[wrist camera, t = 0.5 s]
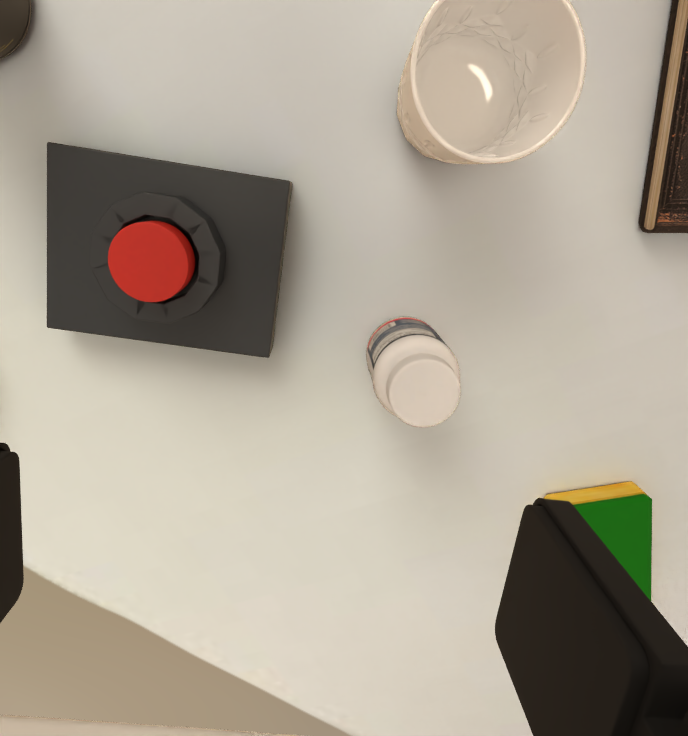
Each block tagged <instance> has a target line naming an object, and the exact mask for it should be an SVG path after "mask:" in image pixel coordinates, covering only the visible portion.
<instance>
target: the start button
mask: <svg viewBox="0 0 688 736" xmlns="http://www.w3.org/2000/svg"><path fill="white" fill-rule="evenodd" d="M108 265H109V269H110V273H111V275H112V277H113V279H114V281H115V282H116V284H117V285H118V286H119V287H120V288H121V289H122V290H123V291H124V292H125V293H126V294H128V295H129V296H131V297H133V298H135V299H137V300H140V301H144V302H160V301H164V300H167V299H169V298H171V297H172V296H174V295H175V294H177V293H178V292H180V291H181V290H183V289H184V288H185V287H186V286H187V285H188V283H189V282H190V280H191V278H192V276H193V273H194V269H195V255H194V251H193V248H192V246H191V244H190V242H189V240H188V239H187V238H186V236H185V235H184V234H183V233H182V232H181V231H180V230H179V229H177V228H176V227H174V226H172V225H170V224H168V223H165V222H161V221H144V222H138V223H133V224H130V225H128V226H126V227H125V228H123V229H122V230H120V231H119V232H118V233H117V234H116V236H115V237H114V239H113V240H112V242H111V245H110V247H109V251H108Z"/></svg>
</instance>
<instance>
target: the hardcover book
mask: <svg viewBox="0 0 688 736" xmlns="http://www.w3.org/2000/svg"><path fill="white" fill-rule="evenodd" d="M639 225H640V228H641V230H642V231H643V232H646V233H688V0H672V6H671V12H670V19H669V25H668V32H667V39H666V45H665V52H664V59H663V65H662V72H661V78H660V85H659V92H658V98H657V105H656V111H655V118H654V125H653V131H652V138H651V145H650V151H649V158H648V164H647V171H646V178H645V184H644V191H643V197H642V204H641V211H640V217H639Z"/></svg>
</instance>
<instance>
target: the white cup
mask: <svg viewBox="0 0 688 736" xmlns="http://www.w3.org/2000/svg"><path fill="white" fill-rule="evenodd" d="M585 71H586V45H585V38H584V33H583V30H582V26H581V23H580V20H579V18H578V16H577V13H576V11H575V10H574V8H573V6H572V4H571V3H570V1H569V0H436V2H435V3H434V4H433V5H432V7H431V8H430V10H429V11H428V13H427V14H426V16H425V18H424V20H423V22H422V24H421V26H420V28H419V30H418V33H417V35H416V38H415V41H414V43H413V46H412V48H411V50H410V53H409V55H408V58H407V60H406V63H405V66H404V70H403V73H402V76H401V81H400V85H399V87H398V102H397V116H398V119H399V122H400V124H401V127H402V130H403V133H404V135H405V138H406V139H407V140H408V141H409V142H410V143H411V144H412V145H413V146H414V147H415V148H416V149H417V150H418V151H419V152H420V153H421V154H422V155H423V156H426V157H429V158H433V159H436V160H440V161H443V162H447V163H455V164H496V163H505V162H510V161H514V160H517V159H520V158H522V157H525V156H527V155H529V154H531V153H533V152H535V151H536V150H538V149H539V148H541V147H542V146H544V145H545V144H546V143H547V142H549V141H550V140H551V139H552V138H553V137H554V136H555V135H556V134H557V133H558V132H559V130H560V129H561V128H562V127H563V126H564V124H565V123H566V121H567V120H568V118H569V117H570V115H571V113H572V112H573V110H574V108H575V106H576V104H577V101H578V99H579V96H580V93H581V90H582V87H583V82H584V78H585Z"/></svg>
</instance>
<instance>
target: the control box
mask: <svg viewBox="0 0 688 736" xmlns="http://www.w3.org/2000/svg"><path fill="white" fill-rule="evenodd" d="M291 191H292V182H290V181H286V180H280V179H274V178H268V177H262V176H255V175H249V174H243V173H237V172H231V171H224V170H218V169H212V168H206V167H200V166H193V165H187V164H181V163H175V162H169V161H162V160H156V159H150V158H144V157H138V156H131V155H125V154H119V153H113V152H107V151H100V150H94V149H88V148H82V147H76V146H69V145H63V144H57V143H51V142H48V143H47V327H48V328H54V329H61V330H68V331H76V332H83V333H90V334H98V335H105V336H112V337H119V338H127V339H134V340H141V341H149V342H156V343H163V344H171V345H178V346H185V347H192V348H200V349H207V350H214V351H222V352H229V353H236V354H244V355H251V356H258V357H265V358H269V356H270V353H271V351H272V348H273V340H274V331H275V323H276V315H277V307H278V298H279V290H280V282H281V273H282V265H283V257H284V249H285V240H286V232H287V224H288V215H289V207H290V199H291ZM144 221H161V222H165V223H168V224H170V225H172V226H174V227H176V228H177V229H179V230H180V231H181V232H182V233H183V234H184V235H185V236H186V238H187V239H188V240H189V242H190V244H191V246H192V248H193V251H194V255H195V269H194V273H193V276H192V278H191V280H190V282H189V283H188V285H187V286H186V287H185V288H184V289H183V290H181V291H180V292H178V293H177V294H175V295H174V296H172V297H171V298H169V299H167V300H164V301H160V302H144V301H140V300H137V299H135V298H133V297H131V296H129V295H128V294H126V293H125V292H124V291H123V290H122V289H121V288H120V287H119V286H118V285H117V284H116V282H115V281H114V279H113V277H112V275H111V273H110V269H109V265H108V251H109V247H110V245H111V242H112V240H113V239H114V237H115V236H116V234H117V233H118V232H119V231H120V230H122V229H123V228H125V227H126V226H128V225H130V224H133V223H138V222H144Z"/></svg>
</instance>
